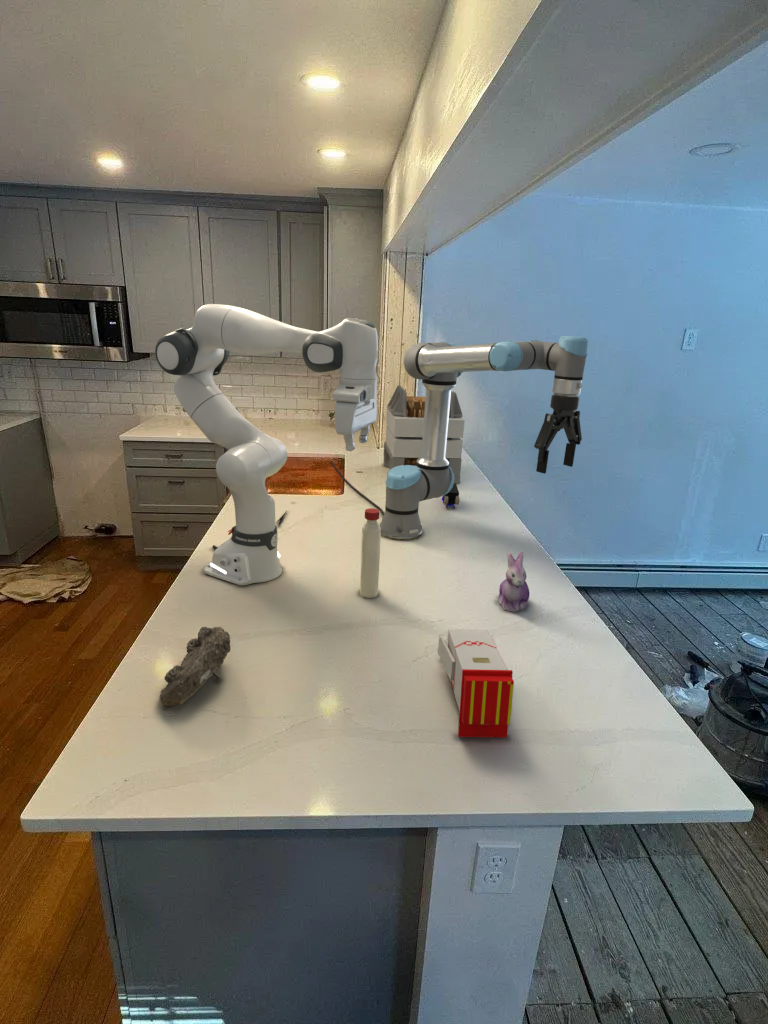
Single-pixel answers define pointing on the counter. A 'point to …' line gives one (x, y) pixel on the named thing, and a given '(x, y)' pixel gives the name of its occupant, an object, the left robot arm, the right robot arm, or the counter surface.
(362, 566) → the bottle
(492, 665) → the toy
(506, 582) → the figurine
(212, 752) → the counter surface
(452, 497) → the figurine character
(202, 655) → the fossil
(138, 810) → the counter surface
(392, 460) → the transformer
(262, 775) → the counter surface
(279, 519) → the feather
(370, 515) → the cap
